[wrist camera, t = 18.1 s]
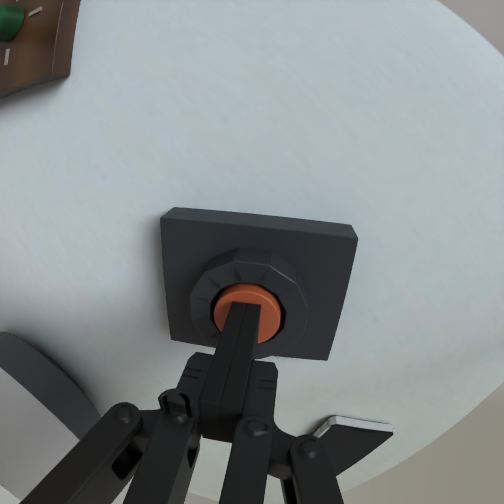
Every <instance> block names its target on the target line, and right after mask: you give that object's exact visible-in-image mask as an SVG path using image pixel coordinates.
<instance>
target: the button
mask: <svg viewBox="0 0 504 504" xmlns="http://www.w3.org/2000/svg"><path fill="white" fill-rule="evenodd" d="M232 301H235V302H243V303H251V304H259V305H261V313H260V324H259V334H258V343H261V342H264V341H266V340H268V339H269V338H271V337H272V336H273V335H274V334H275V333H276V331H277V330H278V328H279V325H280V317H281V305H282V303H281V301H280V299H279V297H278V295H276V294H275V293H273V292H271V291H270V290H268V289H267V288H265V287H264V286H262V285H260V284H253V283H244V282H237V283H235V284H232V285H229V286H227V287H224V288H223V289H222V291H221V294H220V296H219V299H218V301H217V303H216V306H215V309H214V319H215V322H216V325H217V327H218V328H219V330H220V331H221V332H222V330H223V327H224V324H225V321H226V318H227V315H228V312H229V309H230V306H231V303H232Z"/></svg>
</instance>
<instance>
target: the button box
mask: <svg viewBox="0 0 504 504" xmlns="http://www.w3.org/2000/svg"><path fill="white" fill-rule="evenodd" d="M160 221H161V240H162V255H163V268H164V280H165V291H166V301H167V310H168V319H169V327H170V335H171V340H175V341H180V342H186V343H191V344H197V345H202V346H208V347H214V348H216V347H217V344H218V341H219V338H220V336H221V333H222V332H221V331H220V330H219V328H218V327H217V325H216V322H215V319H214V309H215V306H216V303H217V301H218V299H219V296H220V294H221V291H222V289H223V288H224V287H227V286H229V285H232V284H235V283H237V282H244V283H253V284H260V285H262V286H264V287H265V288H267V289H268V290H270V291H271V292H273V293H275V294H276V295H278V297H279V299H280V301H281V303H282V305H281V317H280V325H279V328H278V330H277V331H276V333H275V334H274V335H273V336H272V337H271V338H269V339H268V340H266V341H264V342H261V343H258V344H257V350H256V355H255V359H262V358H265V357H269V356H281V357H290V358H301V359H312V360H325V361H327V360H328V357H329V354H330V350H331V347H332V344H333V340H334V337H335V333H336V330H337V326H338V322H339V319H340V315H341V311H342V307H343V304H344V300H345V296H346V292H347V288H348V283H349V279H350V275H351V270H352V266H353V262H354V257H355V252H356V247H357V243H358V237H357V235H356V233H355V231H354V229H353V227H352V225H347V224H339V223H331V222H323V221H314V220H306V219H297V218H288V217H278V216H269V215H259V214H249V213H238V212H227V211H216V210H204V209H192V208H178V207H174V208H172V209H171V210H170V211H168V212H167V213H166V214H165V215H163V216H162V217H161V218H160Z"/></svg>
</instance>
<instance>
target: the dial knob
mask: <svg viewBox="0 0 504 504" xmlns="http://www.w3.org/2000/svg"><path fill="white" fill-rule="evenodd" d="M24 14H25V12H24V9H23V8H22V7H19V6H14V5H8V4H2V3H0V42H4V43H6V42H9V41H11V40H12V39H13V38H14V37H15V36H16V34H17V33H18V31H19V30H20V28H21V25H22V23H23V20H24Z"/></svg>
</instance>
